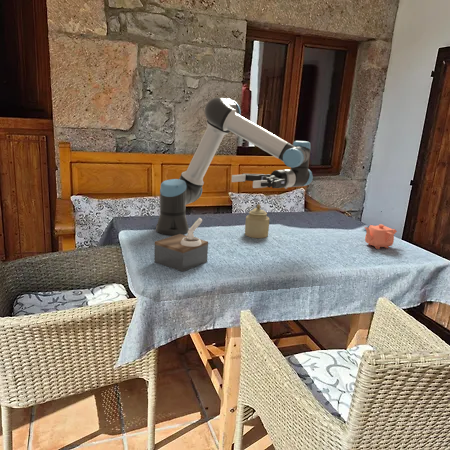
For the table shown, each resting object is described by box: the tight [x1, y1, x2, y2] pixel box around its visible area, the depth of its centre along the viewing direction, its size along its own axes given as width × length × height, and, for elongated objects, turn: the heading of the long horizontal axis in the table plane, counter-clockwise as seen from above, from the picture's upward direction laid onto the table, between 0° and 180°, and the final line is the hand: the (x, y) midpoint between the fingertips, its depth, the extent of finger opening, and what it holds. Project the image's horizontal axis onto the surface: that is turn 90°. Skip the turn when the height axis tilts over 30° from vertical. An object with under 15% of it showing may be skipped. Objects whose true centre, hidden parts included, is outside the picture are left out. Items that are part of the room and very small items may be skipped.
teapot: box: [364, 223, 397, 250], centre depth 189 cm, size 14×12×10 cm
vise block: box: [153, 234, 209, 273], centre depth 157 cm, size 14×14×8 cm
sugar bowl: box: [244, 203, 270, 239], centre depth 197 cm, size 15×11×15 cm
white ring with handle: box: [181, 217, 203, 247], centre depth 153 cm, size 8×12×7 cm
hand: (242, 181), depth 165 cm, fingers open, 13 cm apart
